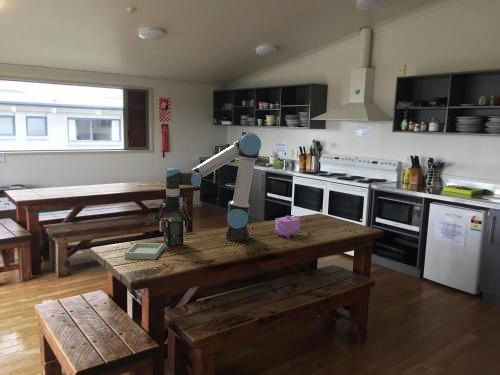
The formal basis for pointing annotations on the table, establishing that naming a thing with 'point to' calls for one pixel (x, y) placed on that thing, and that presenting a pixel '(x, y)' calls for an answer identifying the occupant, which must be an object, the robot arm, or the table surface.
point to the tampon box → (173, 231)
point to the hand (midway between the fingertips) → (172, 231)
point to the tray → (144, 250)
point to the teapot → (287, 226)
